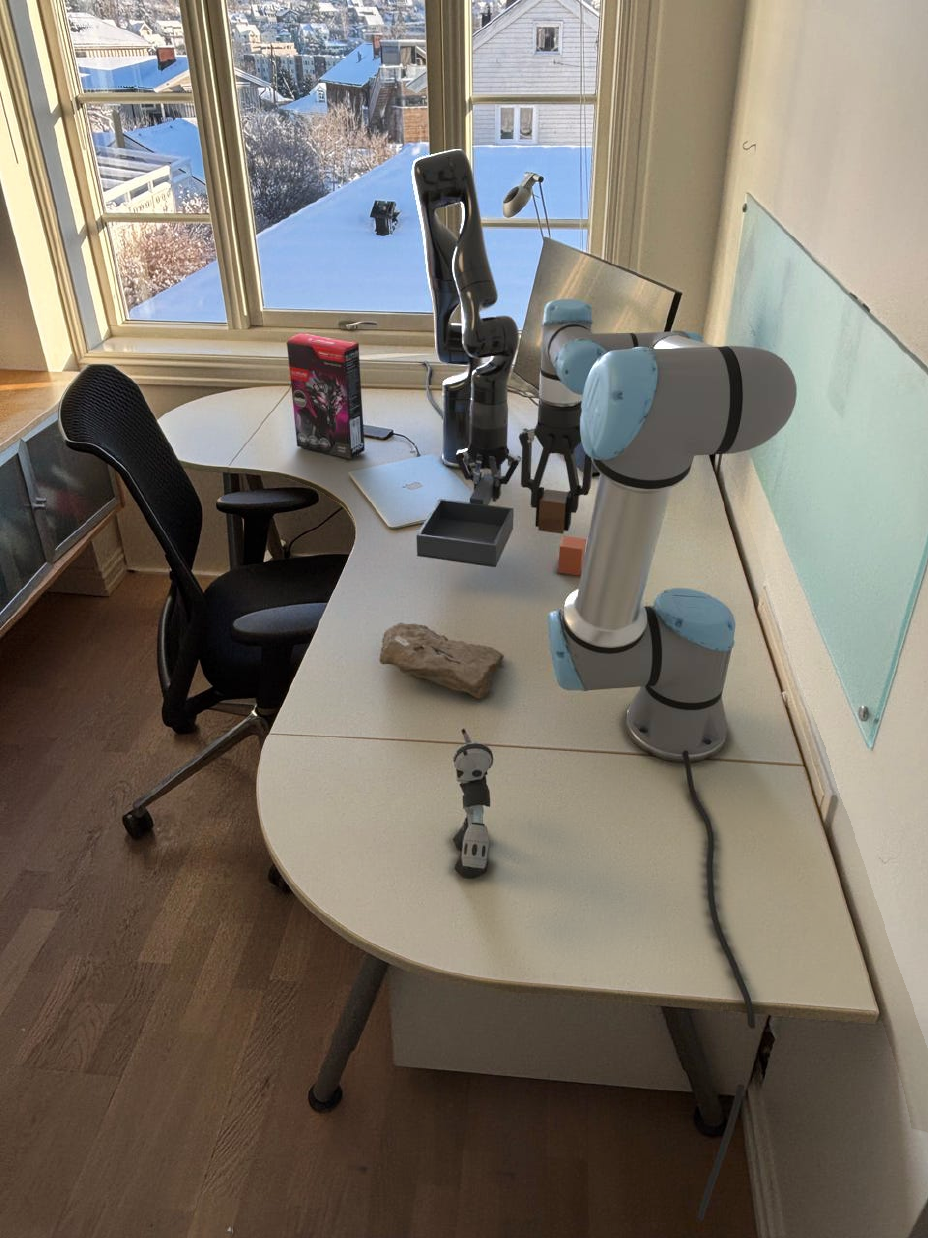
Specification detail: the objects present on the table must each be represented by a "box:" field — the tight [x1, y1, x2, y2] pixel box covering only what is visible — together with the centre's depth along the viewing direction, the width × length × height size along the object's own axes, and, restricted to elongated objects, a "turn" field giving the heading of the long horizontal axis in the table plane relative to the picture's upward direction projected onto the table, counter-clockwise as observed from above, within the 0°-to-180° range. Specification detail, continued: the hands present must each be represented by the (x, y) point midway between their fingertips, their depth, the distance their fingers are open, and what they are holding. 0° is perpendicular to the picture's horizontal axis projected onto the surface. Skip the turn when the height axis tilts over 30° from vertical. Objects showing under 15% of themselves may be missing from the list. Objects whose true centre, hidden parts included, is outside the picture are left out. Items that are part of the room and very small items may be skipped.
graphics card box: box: [286, 332, 366, 459], centre depth 224 cm, size 17×7×27 cm, turn 62°
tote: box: [416, 472, 515, 568], centre depth 181 cm, size 27×15×6 cm, turn 165°
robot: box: [452, 728, 494, 879], centre depth 116 cm, size 20×5×20 cm, turn 3°
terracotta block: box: [557, 535, 587, 577], centre depth 182 cm, size 4×4×6 cm
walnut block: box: [537, 488, 569, 535], centre depth 162 cm, size 4×4×6 cm
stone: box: [379, 622, 505, 699], centre depth 153 cm, size 21×15×6 cm
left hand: (487, 498), depth 191 cm, fingers closed on tote, 2 cm apart
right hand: (553, 525), depth 164 cm, fingers closed on walnut block, 4 cm apart
